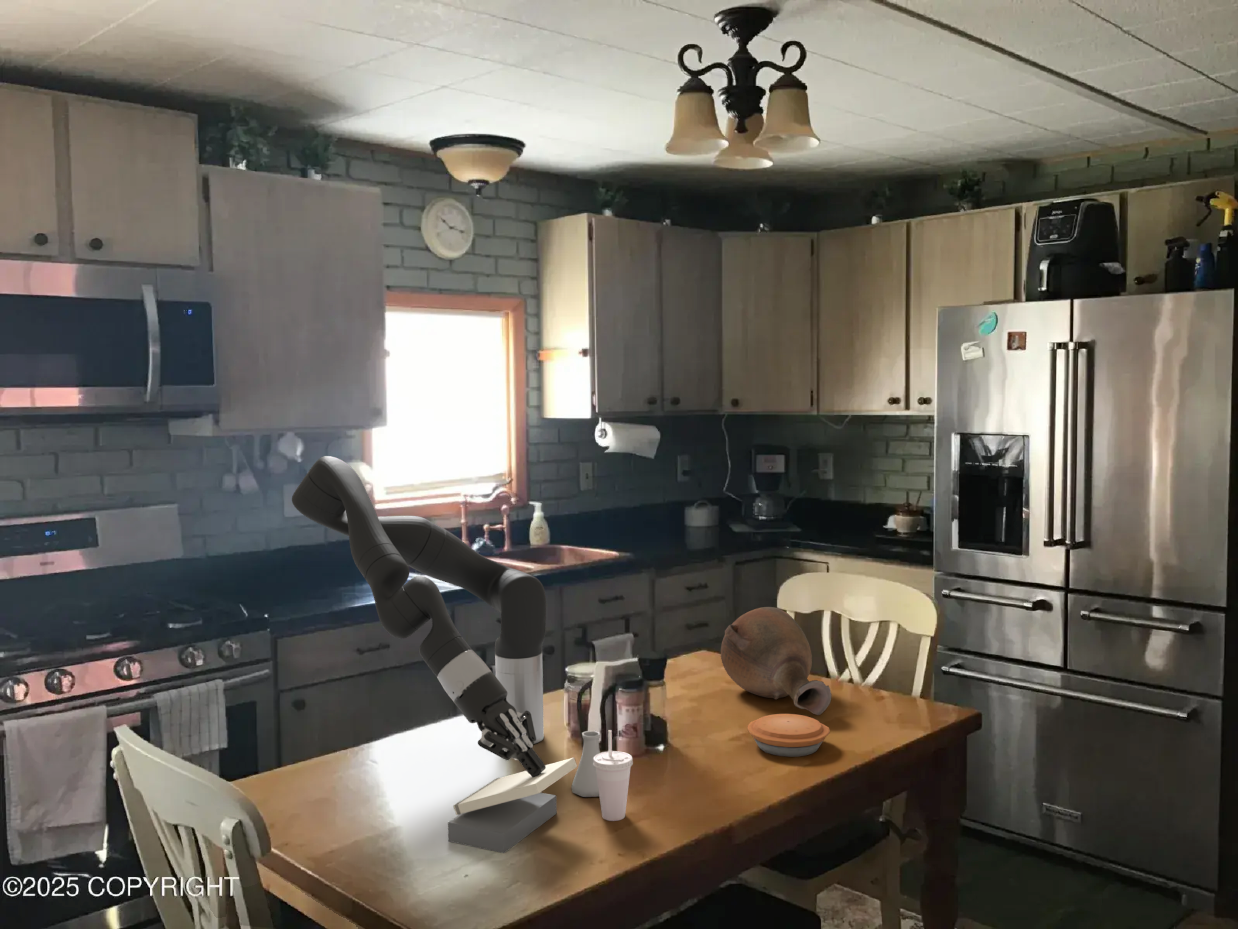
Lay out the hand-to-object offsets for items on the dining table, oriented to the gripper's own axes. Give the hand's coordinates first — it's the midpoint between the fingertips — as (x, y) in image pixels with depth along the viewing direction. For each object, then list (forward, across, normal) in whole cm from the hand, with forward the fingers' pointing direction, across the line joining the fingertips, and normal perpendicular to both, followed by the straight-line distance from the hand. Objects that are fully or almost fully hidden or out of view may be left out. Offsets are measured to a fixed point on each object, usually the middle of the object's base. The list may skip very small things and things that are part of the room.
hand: (539, 773), depth 162 cm
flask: (+6, -19, -8) cm, 22 cm away
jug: (+16, -82, +2) cm, 83 cm away
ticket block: (+2, 0, -12) cm, 12 cm away
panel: (-4, 0, -13) cm, 13 cm away
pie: (+23, -54, +9) cm, 60 cm away
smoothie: (+12, -11, -2) cm, 17 cm away
